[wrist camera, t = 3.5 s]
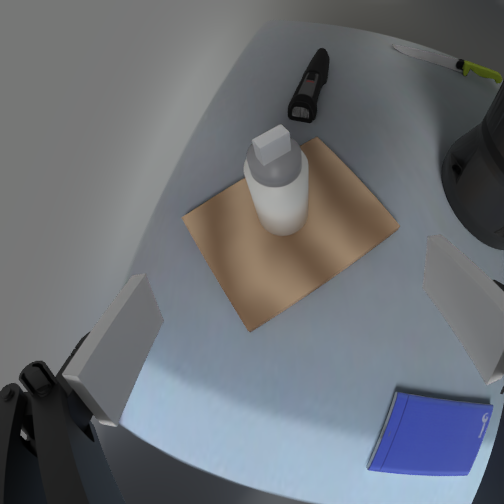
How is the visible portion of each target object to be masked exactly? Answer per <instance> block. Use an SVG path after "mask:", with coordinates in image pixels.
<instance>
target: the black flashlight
mask: <svg viewBox="0 0 504 504" xmlns="http://www.w3.org/2000/svg"><path fill="white" fill-rule="evenodd" d="M328 68H329V56H328V53H327V51H326V50H325V49H324V48H320V49H318V51H317V52H316V54H315V55H314V57H313V58H312V60H311V62H310V64H309V66H308V67H307V69H306V71H305V73H304V75H303V77H302V80H301V81H300V83H299V85H298V87H297V89H296V91H295V93H294V95H293V97H292V99H291V101H290V103H289V106H288V117H289V119H291V120H296V121H302V122H307V123H311V122H312V120H314V119H315V117H316V114H317V100H318V96H319V93H320V89H321V87H322V85H323V84H325V83H326V82H327V76H328Z"/></svg>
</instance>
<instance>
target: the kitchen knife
mask: <svg viewBox="0 0 504 504" xmlns="http://www.w3.org/2000/svg"><path fill="white" fill-rule="evenodd" d="M392 45H393V46H394V47H395V48H396V49H397V50H398V51H400V52H401V53H403V54H405V55H408V56H411V57H414V58H418V59H421V60H425V61H428V62H431V63H435V64H438V65H441V66H444V67H447V68H450V69H452V70H455V71H458V72H460V73H463V75H464V76H467V74H468V72H469V71H470V69H471V70H472V71H473V72H474V73H476V74H477V75H479V76H481V77H484V78H491V79H494V80H495V82H496V83H501V82H502V77H501V75H500V74H499V73H498V72H496V71H493V70H491V69H488V68H486V67H483V66H480V65H477V64H474V63H471V62H468V61H465V60H462V59H458V60H457V59H454V58H451V57H447V56H443V55H440V54H436V53H432V52H428V51H424V50H419V49H415V48H410V47H405V46H399V45H394V44H392Z"/></svg>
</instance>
